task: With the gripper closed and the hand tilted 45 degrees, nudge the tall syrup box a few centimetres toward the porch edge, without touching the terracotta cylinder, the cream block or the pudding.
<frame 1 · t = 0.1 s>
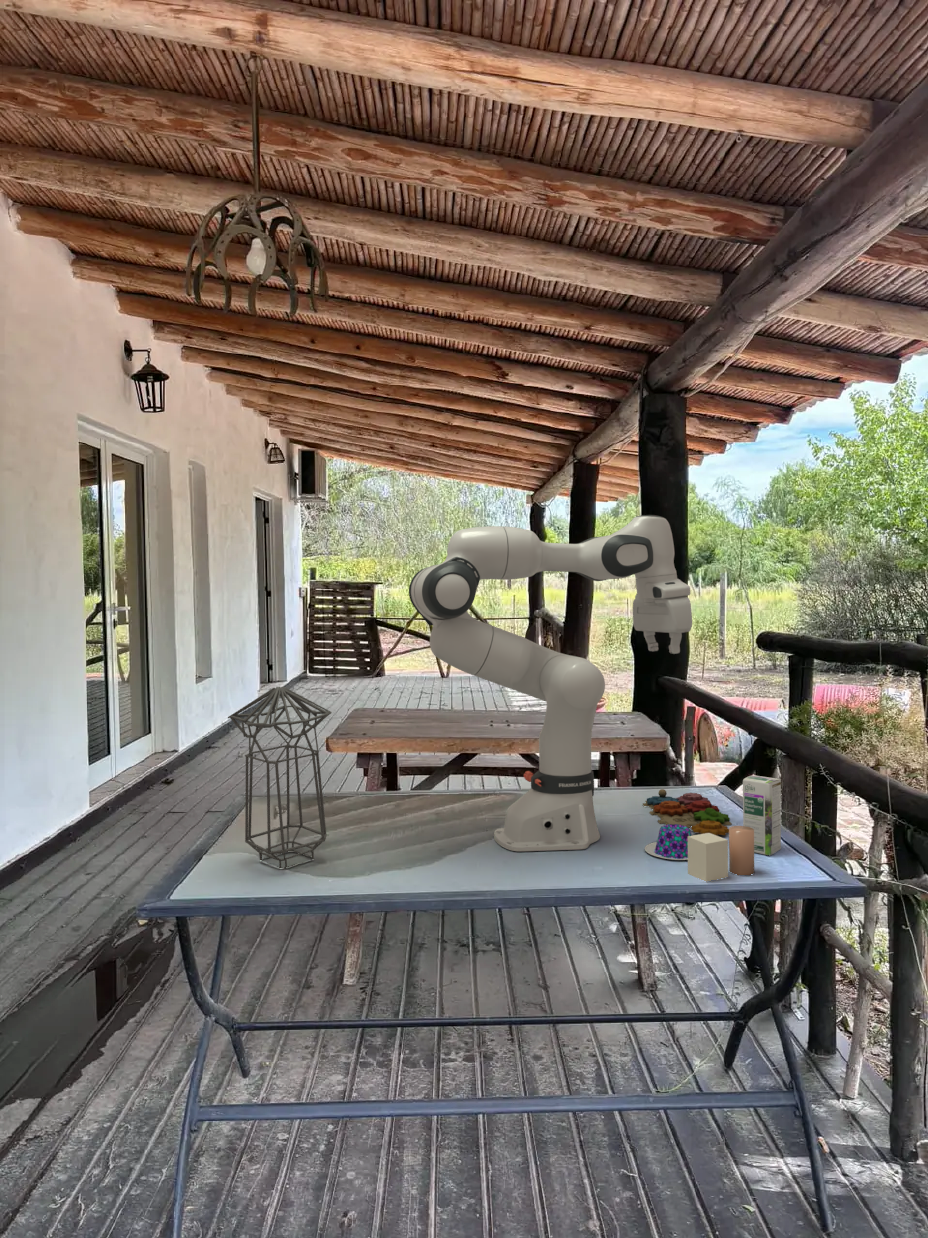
hand: (663, 652, 181), 39 cm above the table, tool pointing down, fingers open, 8 cm apart
terracotta cylinder: (741, 872, 153), on the table
cream block: (707, 876, 151), on the table
syrup box: (762, 851, 165), on the table
gear puzzle: (689, 821, 189), on the table
pudding: (675, 854, 165), on the table
geometric lantern: (283, 863, 163), on the table
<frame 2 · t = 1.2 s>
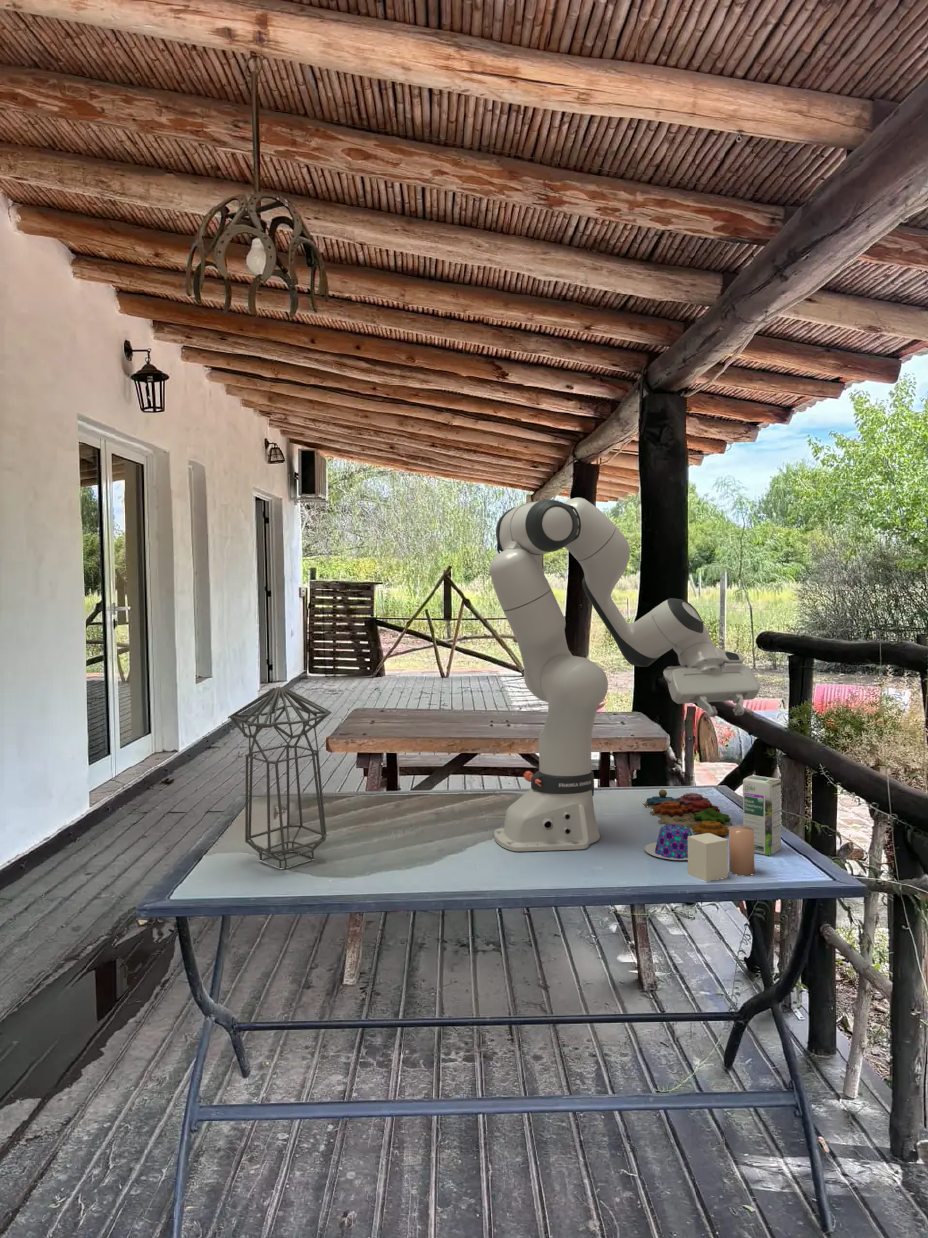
hand: (727, 714, 176), 25 cm above the table, tool tilted 45°, fingers open, 5 cm apart
nothing on the table moved.
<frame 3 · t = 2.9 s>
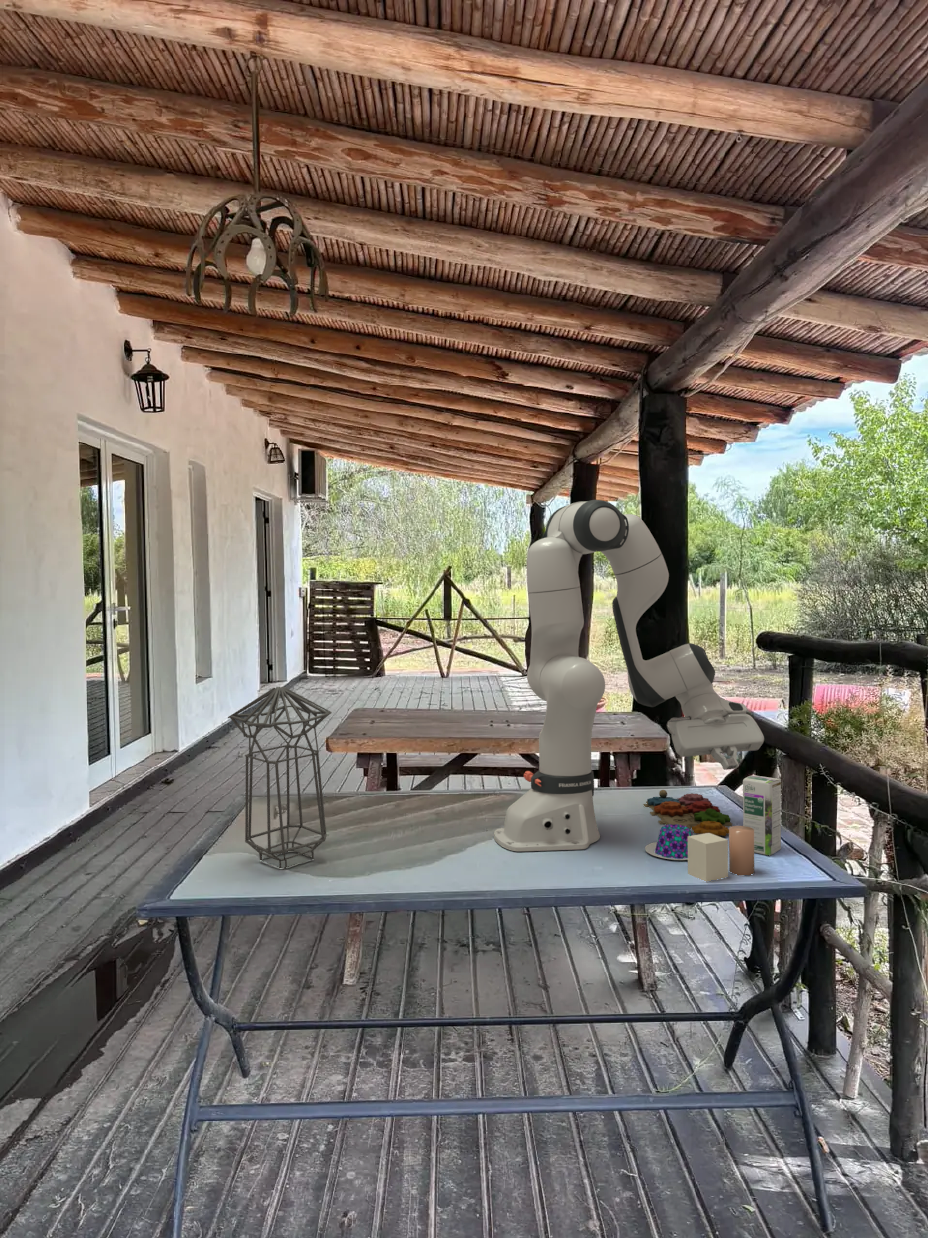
hand: (731, 767, 176), 14 cm above the table, tool tilted 45°, fingers closed
nothing on the table moved.
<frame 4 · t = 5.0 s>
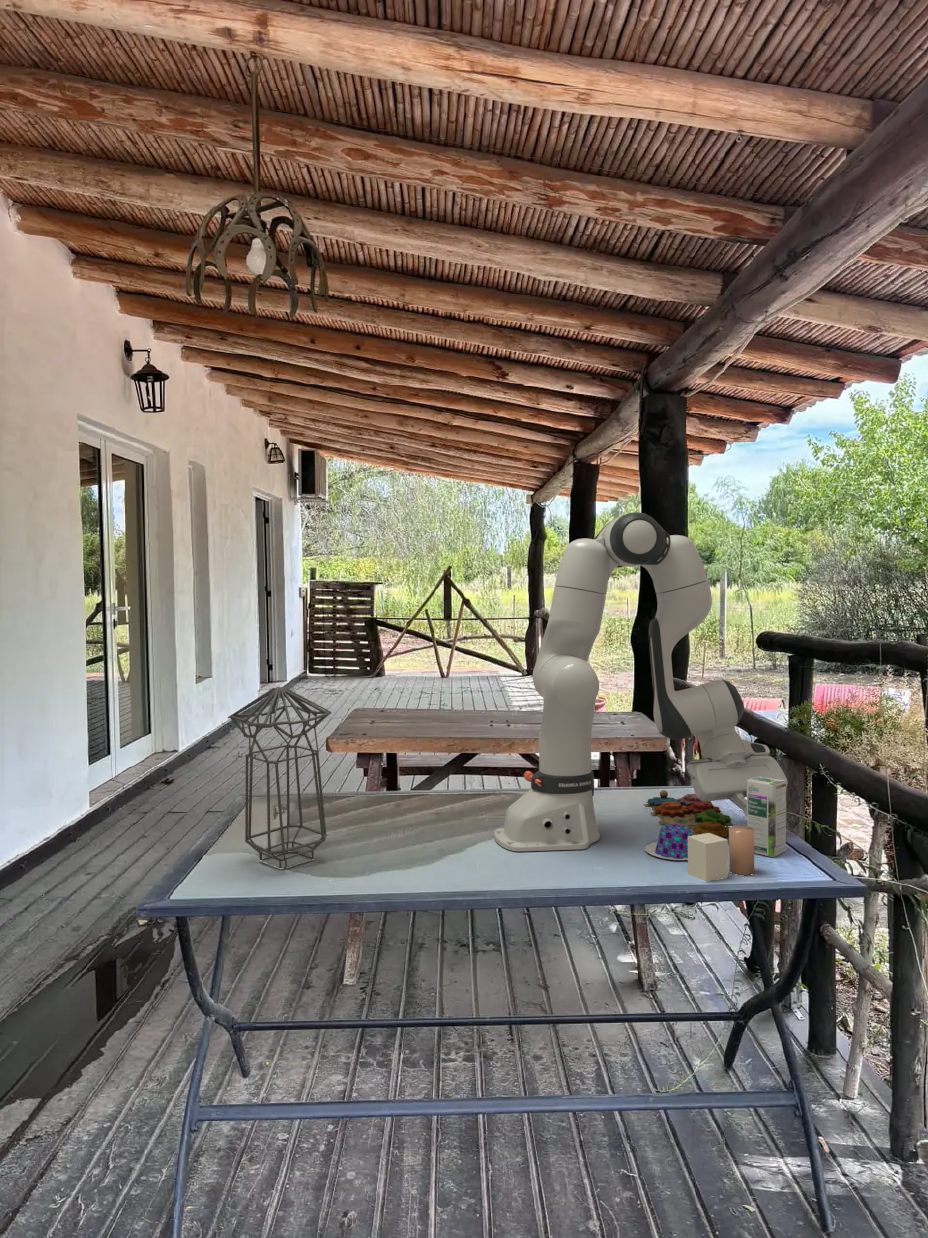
hand: (754, 814, 168), 6 cm above the table, tool tilted 45°, fingers closed
syrup box: (766, 852, 164), on the table, touching gripper
everything else where it was.
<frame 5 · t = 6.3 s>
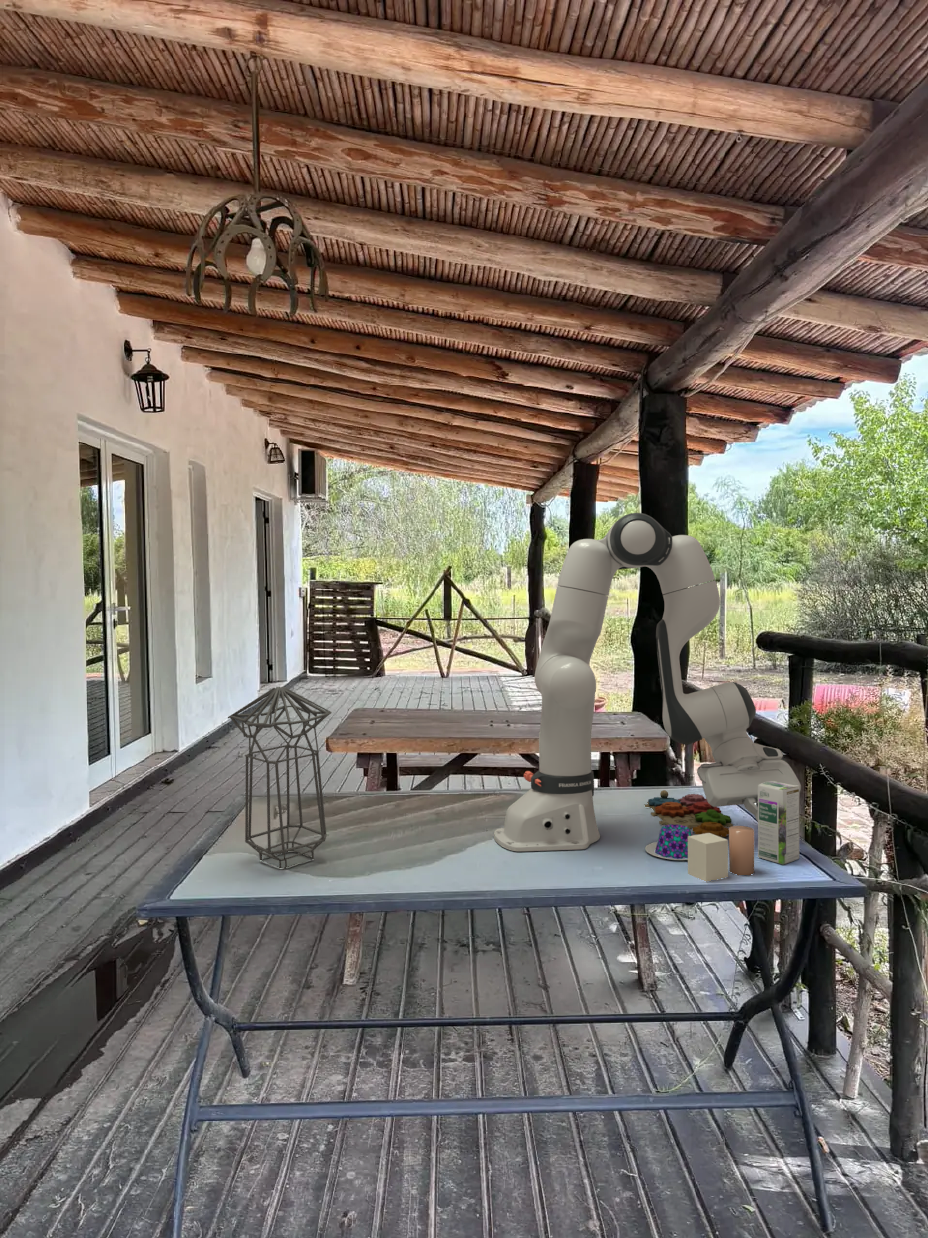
hand: (767, 819, 164), 6 cm above the table, tool tilted 45°, fingers closed
syrup box: (778, 859, 160), on the table, touching gripper
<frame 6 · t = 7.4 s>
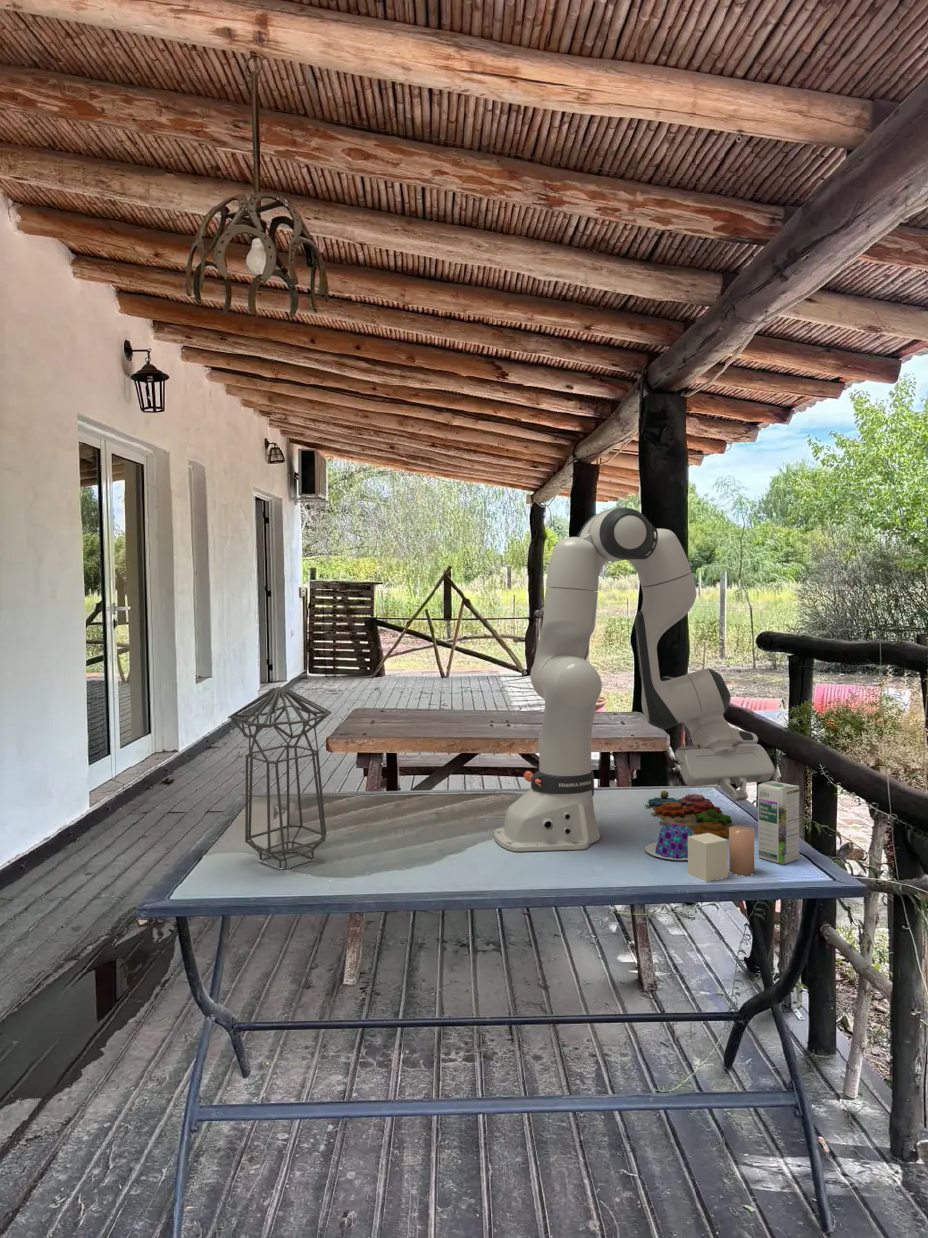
hand: (740, 799, 172), 9 cm above the table, tool tilted 45°, fingers closed
syrup box: (778, 859, 160), on the table
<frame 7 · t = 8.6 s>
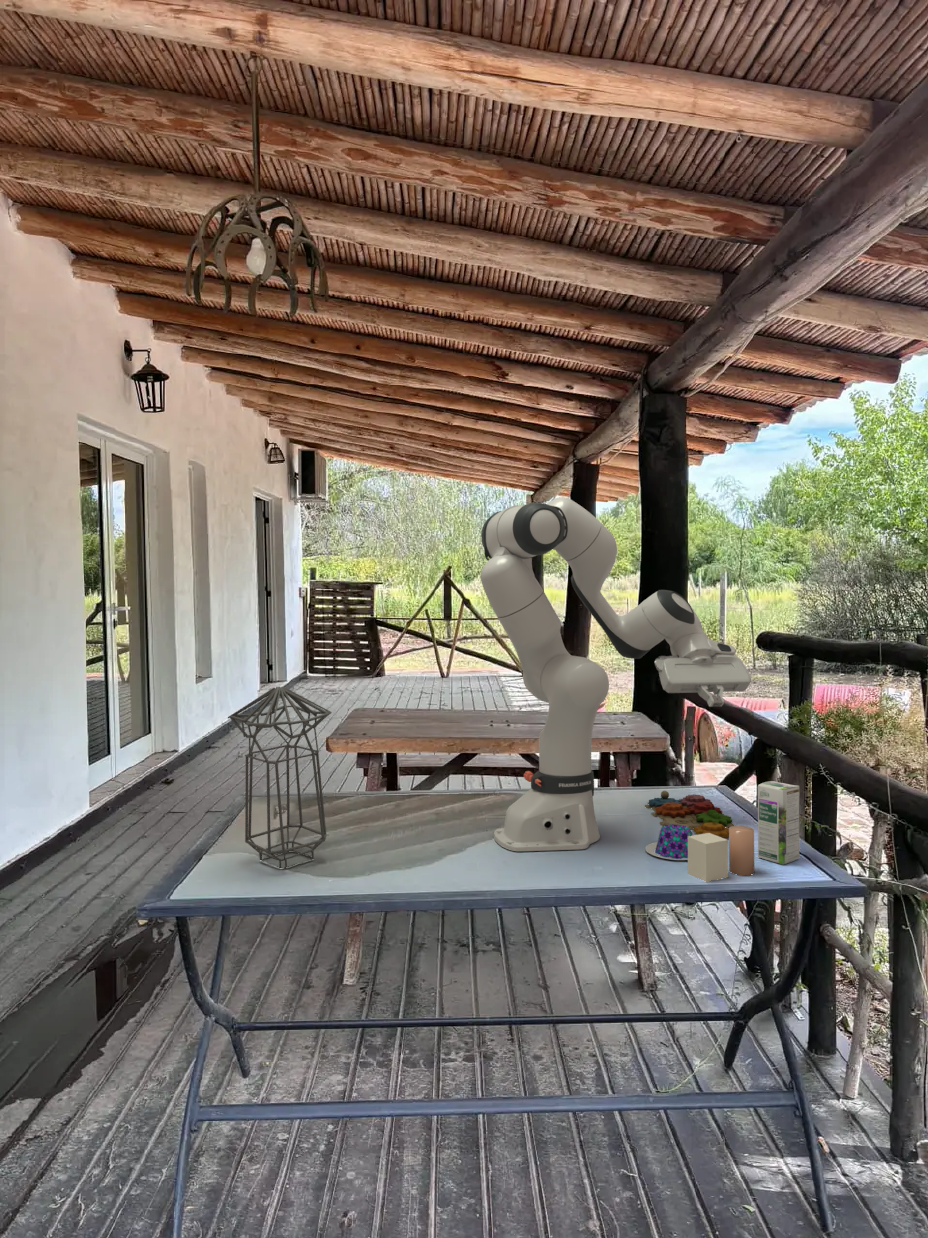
hand: (717, 705, 176), 28 cm above the table, tool tilted 45°, fingers closed
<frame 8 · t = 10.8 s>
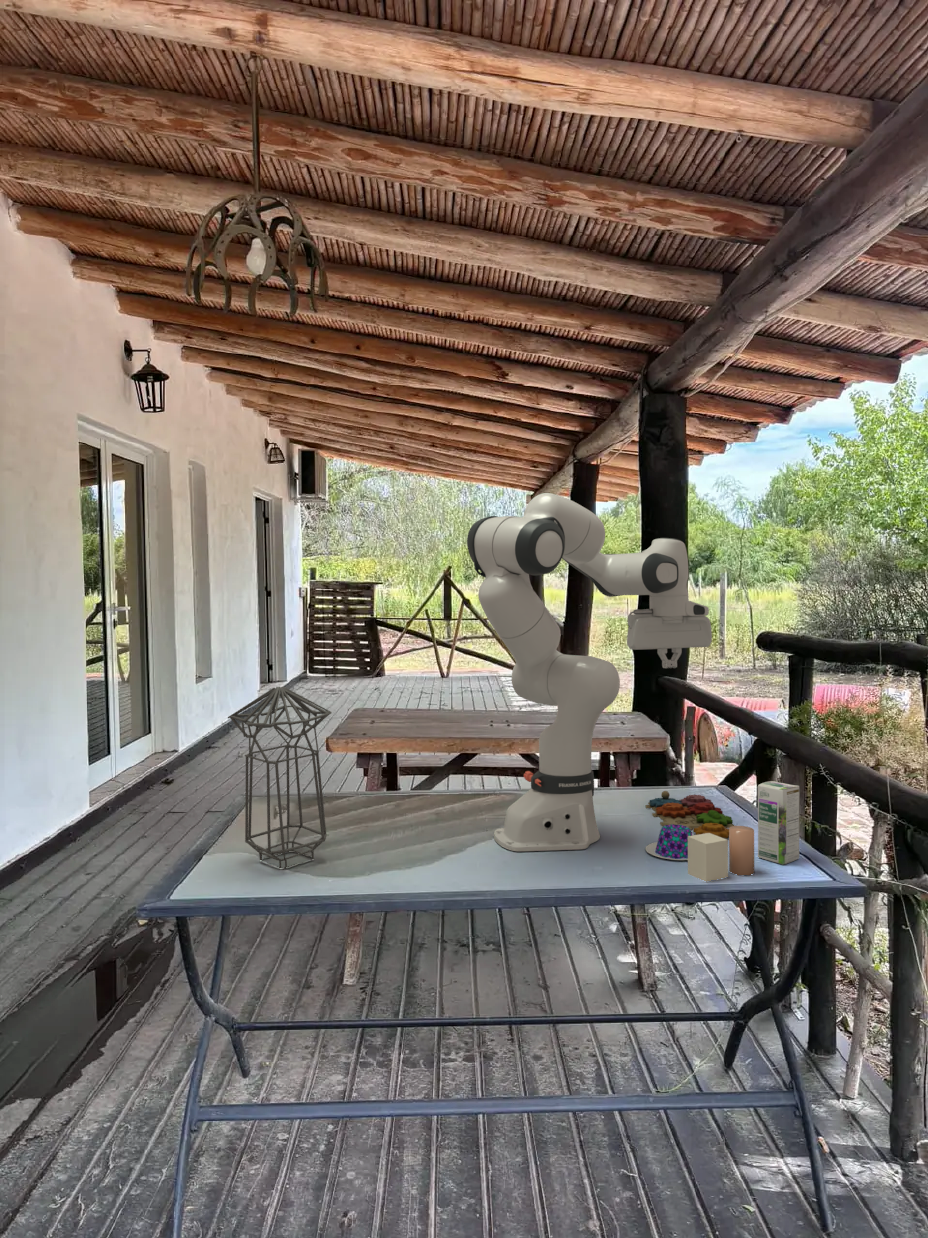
hand: (669, 667, 192), 34 cm above the table, tool pointing down, fingers closed
at the end: syrup box moved 5.5 cm from its start; syrup box tilted 0°; terracotta cylinder moved 0.0 cm from its start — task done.
